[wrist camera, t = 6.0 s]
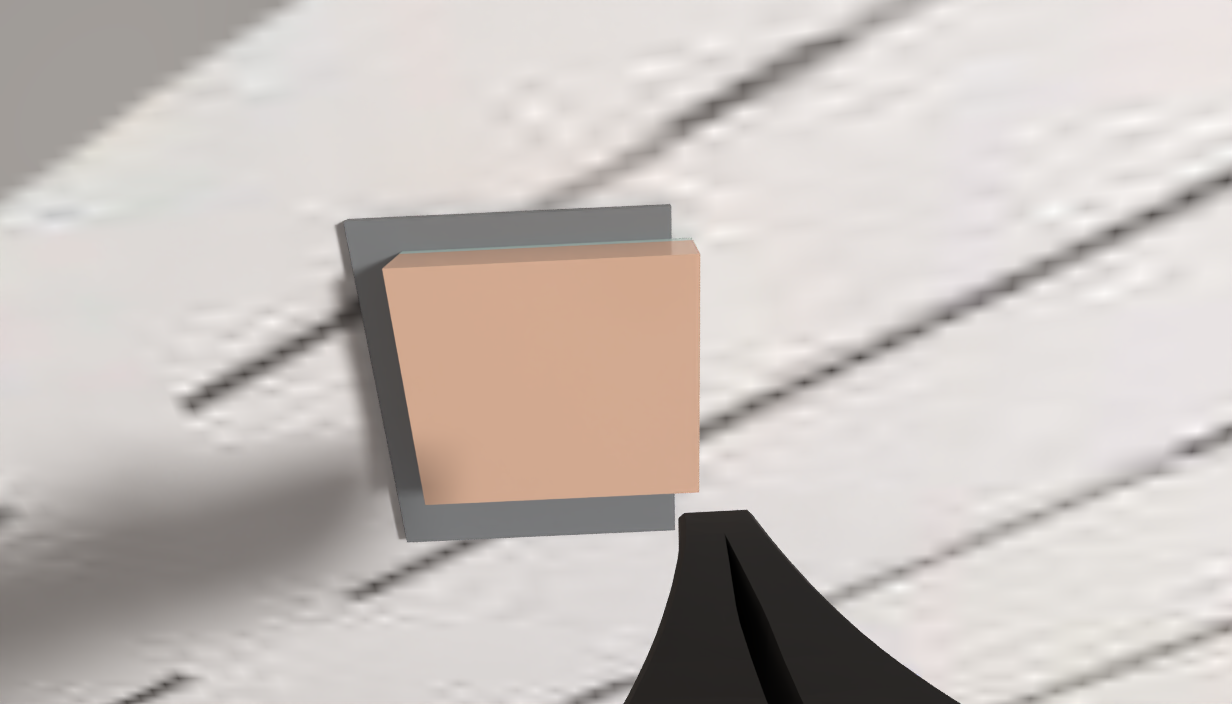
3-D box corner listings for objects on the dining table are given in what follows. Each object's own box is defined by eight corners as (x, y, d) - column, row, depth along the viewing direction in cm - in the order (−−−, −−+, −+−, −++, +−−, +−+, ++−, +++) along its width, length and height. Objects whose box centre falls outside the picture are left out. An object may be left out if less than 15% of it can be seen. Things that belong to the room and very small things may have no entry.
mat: (673, 523, 25) (674, 529, 25) (410, 535, 25) (407, 542, 25) (670, 204, 21) (671, 206, 20) (347, 219, 21) (343, 222, 20)
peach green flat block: (698, 492, 22) (425, 505, 22) (691, 460, 24) (439, 471, 24) (700, 253, 19) (382, 268, 19) (691, 237, 21) (401, 251, 21)
